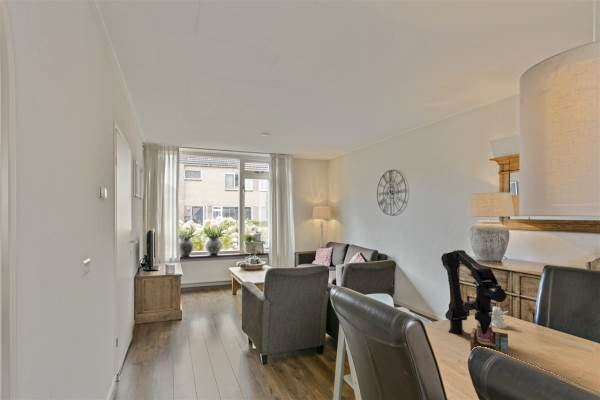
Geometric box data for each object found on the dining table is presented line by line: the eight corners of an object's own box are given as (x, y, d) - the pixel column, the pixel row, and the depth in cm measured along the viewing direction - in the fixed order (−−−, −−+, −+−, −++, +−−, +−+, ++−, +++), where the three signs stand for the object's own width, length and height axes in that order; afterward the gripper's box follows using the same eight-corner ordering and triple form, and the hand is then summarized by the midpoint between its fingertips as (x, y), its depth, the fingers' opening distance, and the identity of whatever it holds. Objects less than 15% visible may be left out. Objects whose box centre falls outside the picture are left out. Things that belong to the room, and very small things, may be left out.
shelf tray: (472, 340, 155) (472, 327, 155) (508, 346, 147) (507, 332, 148) (470, 350, 144) (470, 335, 144) (508, 357, 136) (508, 342, 137)
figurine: (512, 326, 174) (511, 306, 174) (504, 330, 168) (503, 309, 169) (488, 320, 183) (488, 301, 184) (480, 324, 178) (479, 304, 179)
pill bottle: (495, 345, 141) (494, 319, 142) (479, 344, 143) (478, 318, 143) (490, 340, 148) (489, 315, 148) (475, 339, 149) (474, 314, 149)
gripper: (465, 290, 158) (466, 323, 158) (461, 298, 142) (462, 335, 142) (492, 293, 152) (493, 327, 152) (490, 302, 137) (491, 340, 136)
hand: (484, 332), depth 145 cm, fingers closed on pill bottle, 6 cm apart
